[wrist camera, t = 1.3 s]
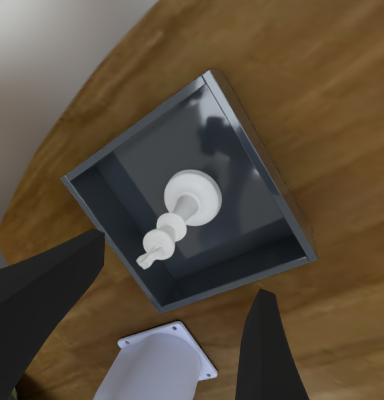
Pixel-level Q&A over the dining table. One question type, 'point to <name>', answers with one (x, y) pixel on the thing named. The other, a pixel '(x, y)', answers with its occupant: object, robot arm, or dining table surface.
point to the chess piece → (181, 213)
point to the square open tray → (220, 172)
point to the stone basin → (13, 395)
